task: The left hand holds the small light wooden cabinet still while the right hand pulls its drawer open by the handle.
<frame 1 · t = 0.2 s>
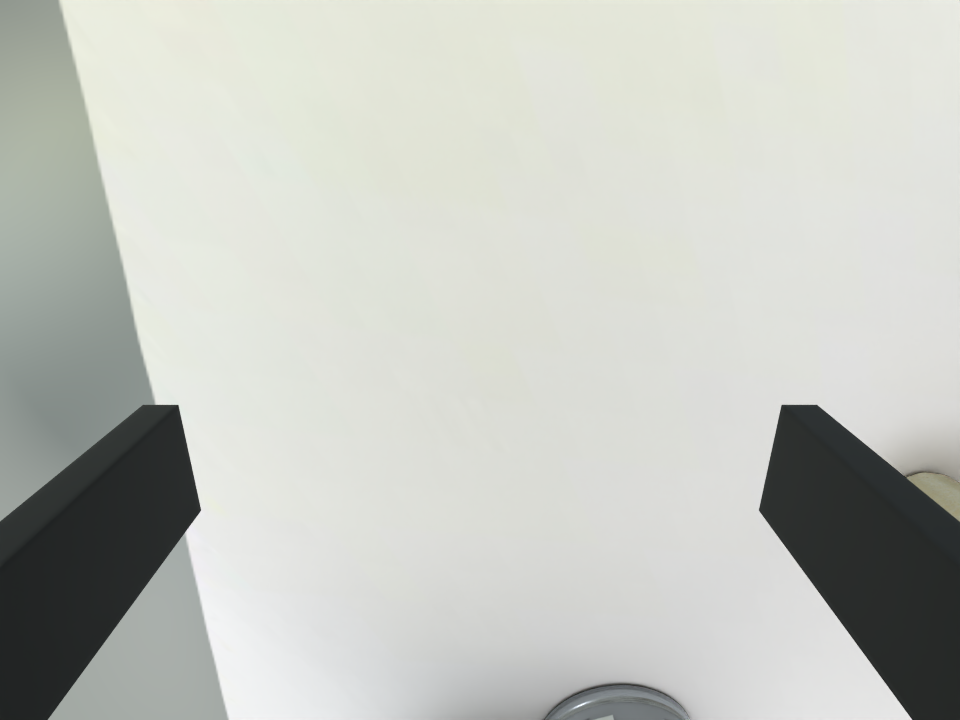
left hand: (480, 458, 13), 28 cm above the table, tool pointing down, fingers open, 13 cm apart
flower pot: (915, 501, 47), on the table
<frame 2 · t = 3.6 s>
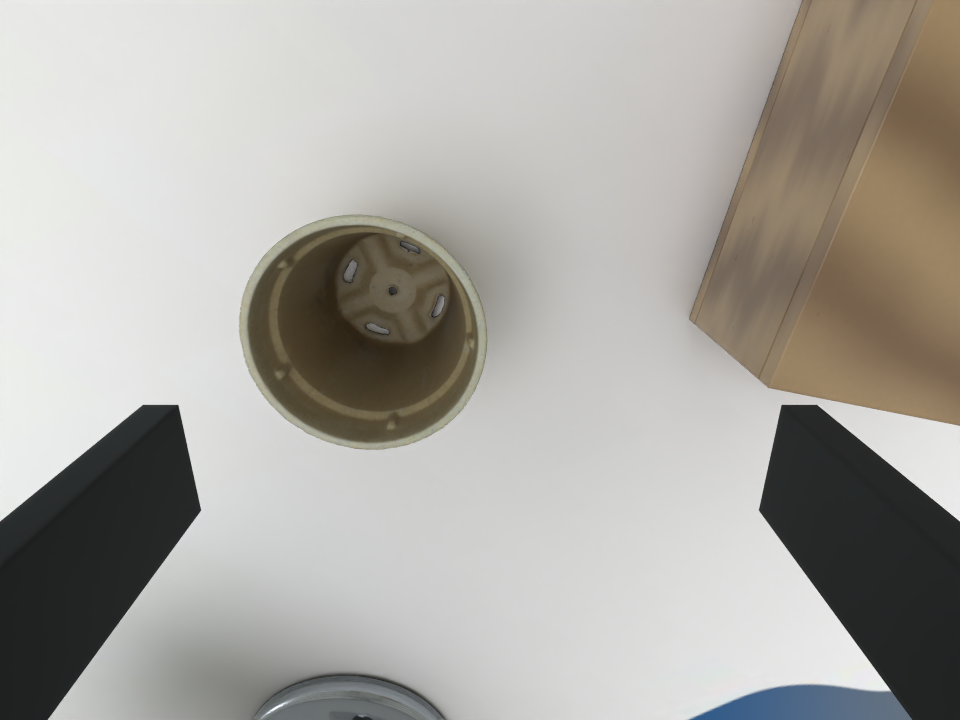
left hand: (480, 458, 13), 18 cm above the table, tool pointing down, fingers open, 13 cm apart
cabinet: (854, 153, 28), on the table
flower pot: (394, 285, 30), on the table
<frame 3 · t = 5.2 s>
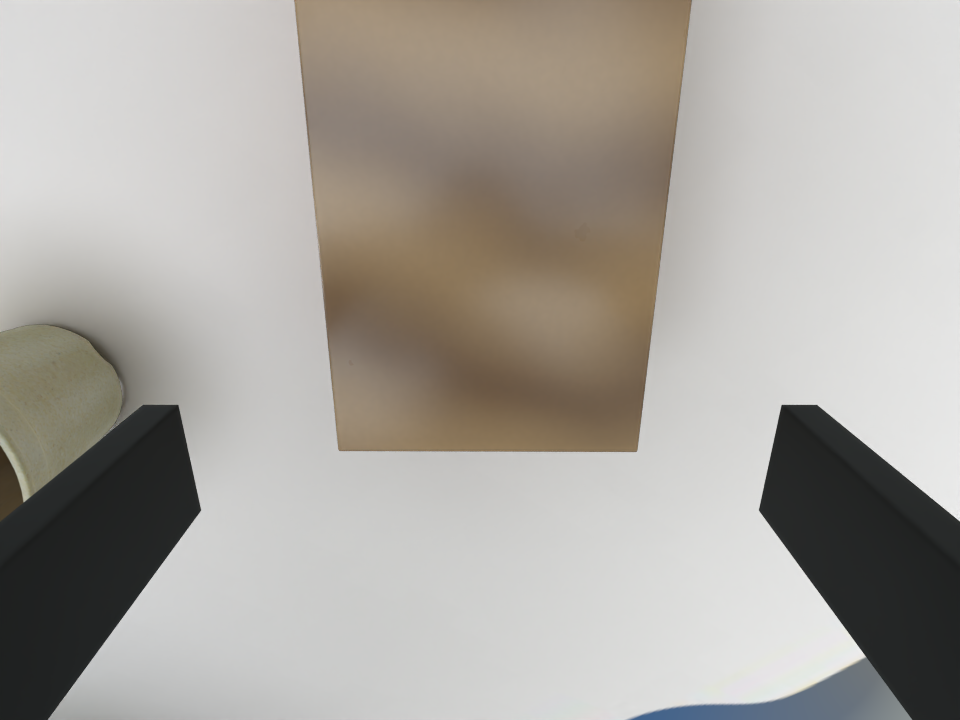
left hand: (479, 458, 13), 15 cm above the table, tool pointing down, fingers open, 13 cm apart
cabinet: (487, 143, 24), on the table
flower pot: (61, 380, 28), on the table
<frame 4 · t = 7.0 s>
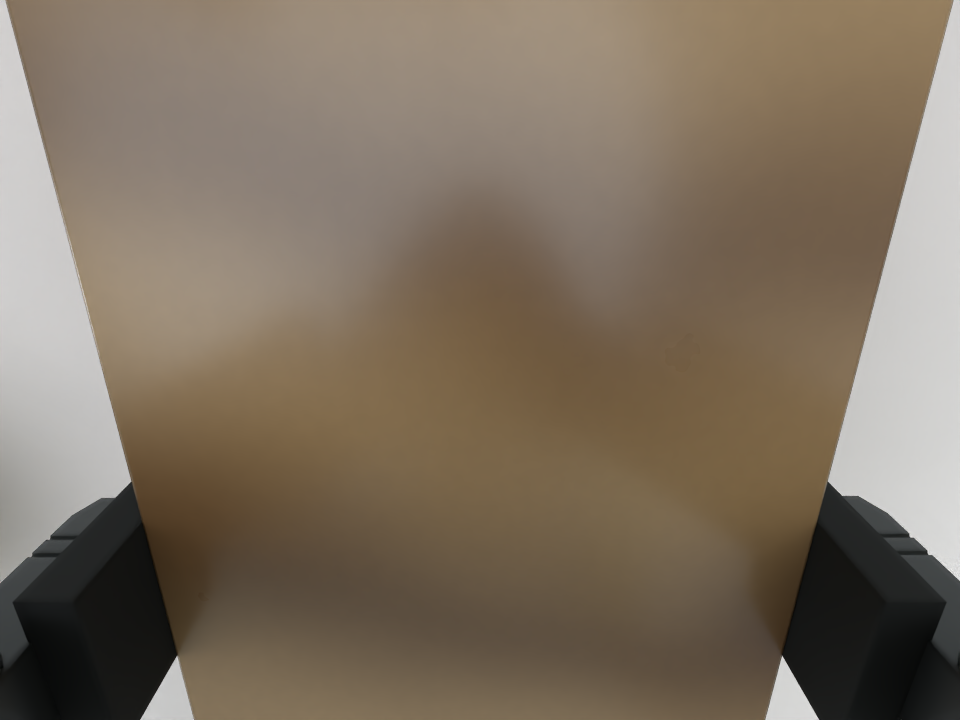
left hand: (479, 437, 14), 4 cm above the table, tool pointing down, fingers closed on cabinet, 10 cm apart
cabinet: (479, 150, 15), on the table, touching left hand
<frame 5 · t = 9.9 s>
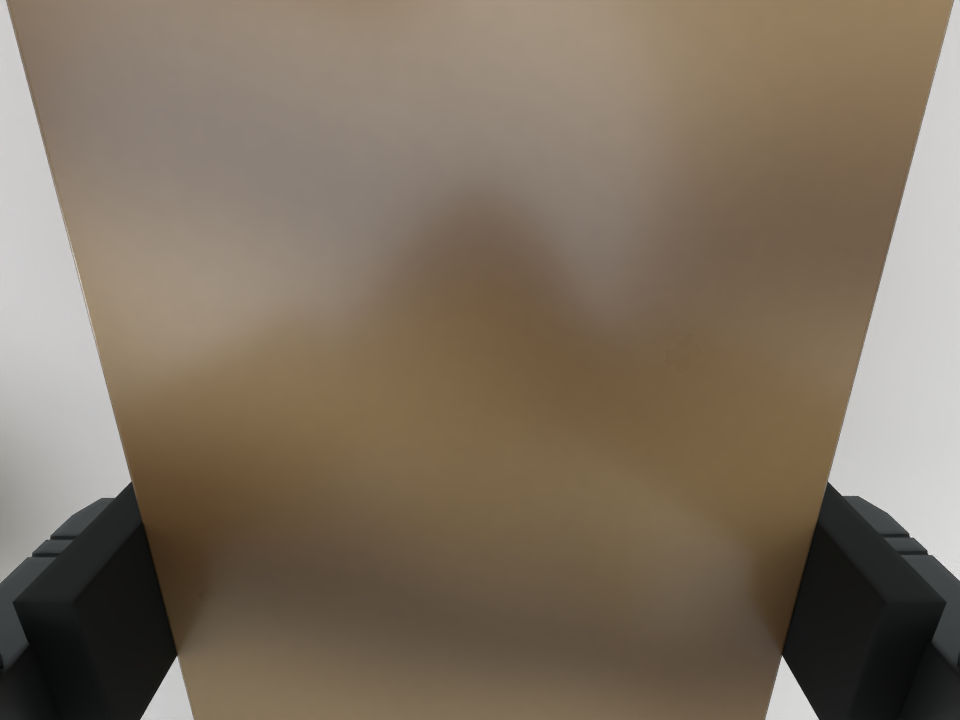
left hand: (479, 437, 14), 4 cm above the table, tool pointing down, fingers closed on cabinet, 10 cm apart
cabinet: (479, 150, 15), on the table, touching left hand
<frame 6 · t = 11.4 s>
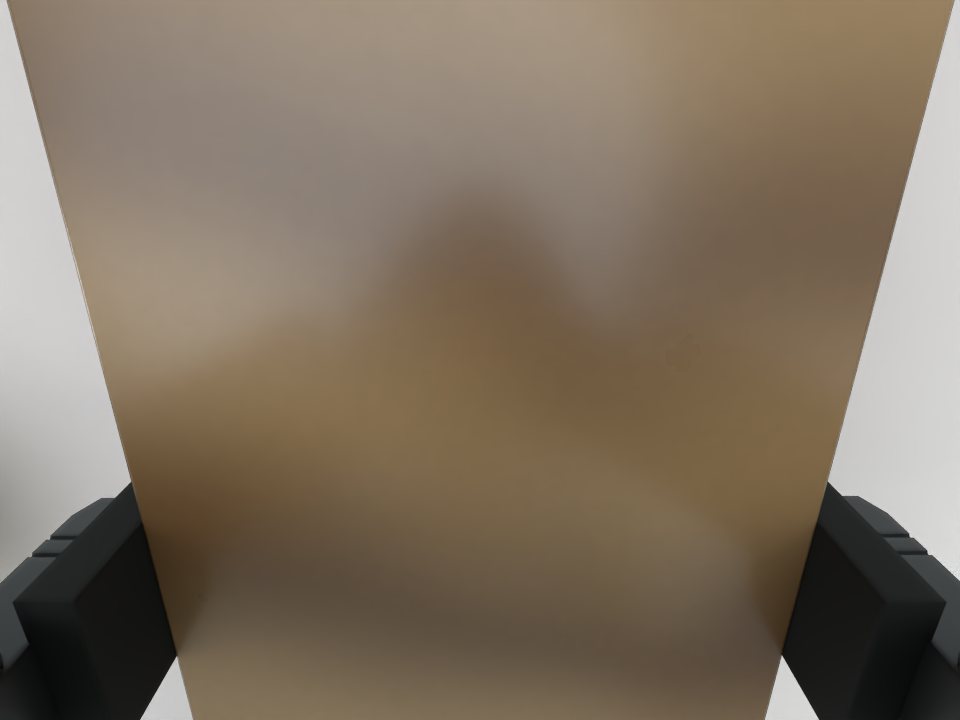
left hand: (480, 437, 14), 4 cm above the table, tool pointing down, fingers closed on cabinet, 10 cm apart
cabinet: (479, 150, 15), on the table, touching left hand
when the left hand's fingers open (4 cm above the table, at t = 13.0 s): cabinet stays where it is, on the table.
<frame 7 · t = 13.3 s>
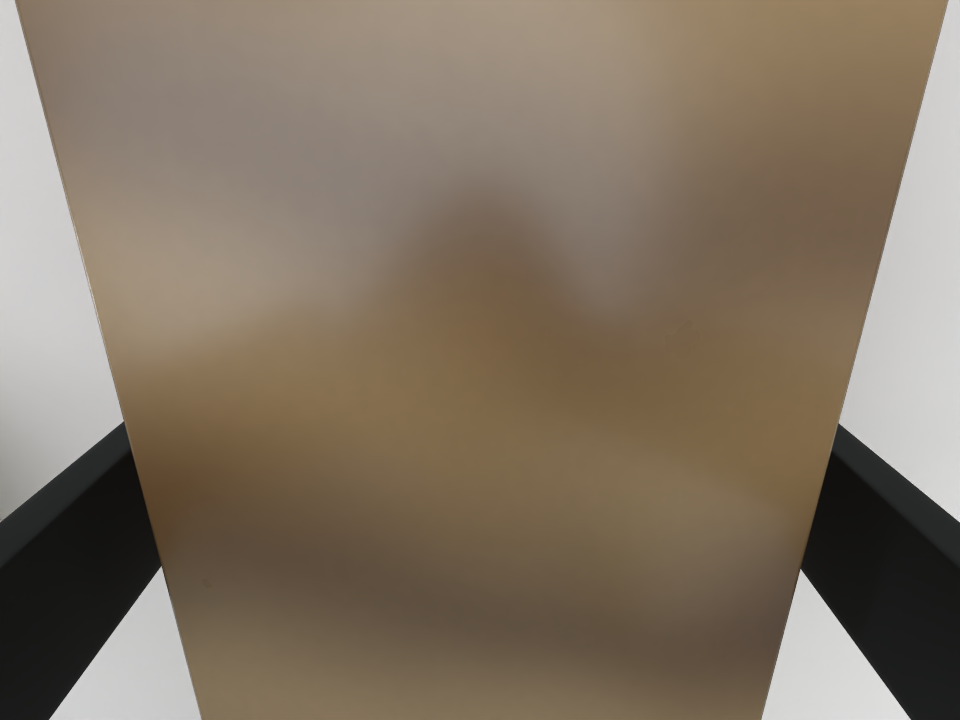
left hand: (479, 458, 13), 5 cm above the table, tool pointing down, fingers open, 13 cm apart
cabinet: (481, 143, 15), on the table
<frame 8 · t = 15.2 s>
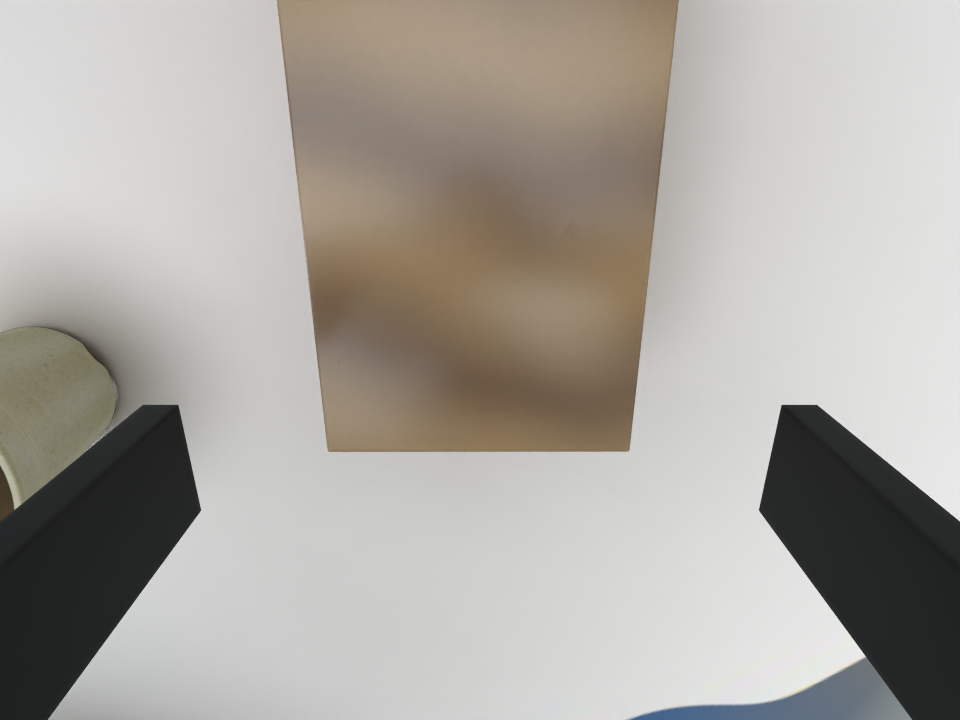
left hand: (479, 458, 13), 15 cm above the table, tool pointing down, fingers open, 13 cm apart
cabinet: (478, 140, 24), on the table
flower pot: (55, 382, 28), on the table
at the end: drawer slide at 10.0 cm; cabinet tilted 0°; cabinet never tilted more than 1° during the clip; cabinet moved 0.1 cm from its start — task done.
